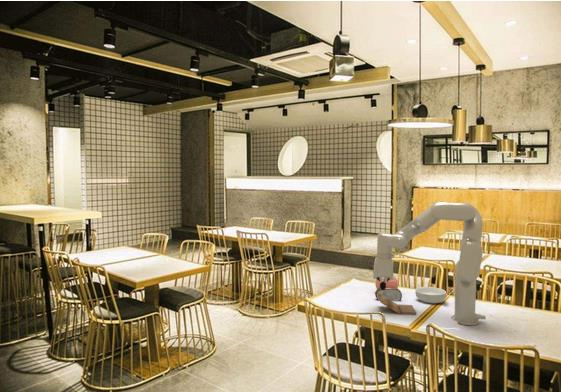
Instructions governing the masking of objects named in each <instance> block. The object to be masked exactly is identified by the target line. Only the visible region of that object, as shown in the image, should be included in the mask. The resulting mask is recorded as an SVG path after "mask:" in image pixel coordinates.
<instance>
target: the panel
mask: <svg viewBox="0 0 561 392" xmlns="http://www.w3.org/2000/svg"><path fill="white" fill-rule="evenodd" d="M378 297H379V299H380V300H379V301H380V304H382V305H383V306H386V307H387V308H389V309H391V310H392V311H394V312H395V313H397V314H398V315H401V314H400V313H401V310H400V308H399V306H398V304H397V303H396V302H395V301H391V300H389V299H388V298H386V297H384V296H383V295H381V294H379V295H378Z"/></svg>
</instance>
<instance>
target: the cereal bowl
mask: <svg viewBox="0 0 561 392" xmlns="http://www.w3.org/2000/svg"><path fill="white" fill-rule="evenodd" d="M414 291H415V297H416V298H417V299H418V300H419V301H420V302H423V303H427V304H439V303H443V302H444V301H445V299H446V297H447V291H446V290H444V289H442V288H440V287H439V288H438V287H434V286H420V287H417V288H415V290H414Z"/></svg>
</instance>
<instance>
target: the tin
mask: <svg viewBox="0 0 561 392" xmlns="http://www.w3.org/2000/svg"><path fill="white" fill-rule="evenodd" d="M379 294H381V295H383V296H384V297H386V298H388V299H389V300H391V301H393V302H401V300H402V298H403V294H402V292H401V290H400V289H399V287H398V288H388V287H386V289H385V291H384V290H381V288H378V289H377V288H376V291H375V292H374V295H375V298H376V299H377V301H380V299H379V297H378V295H379Z"/></svg>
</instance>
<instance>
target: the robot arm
mask: <svg viewBox="0 0 561 392" xmlns="http://www.w3.org/2000/svg"><path fill="white" fill-rule="evenodd" d="M442 220H443V221H457V222H463V231H462V237H461V242H460V244H459V251H460V253H459V260H458V261H457V262H456V264H455V268H454V275H455V278H454V279H455V282H454V283H455V284H454V286H455V287H454V315H451V316H450V318H451V320H452V321H454V322H456V323H458V324H459V325H463V326H477V325H478V324H479V320H486V318H487V317H486V315H482V314H480V313H476V304H477V303H476V301H477V300H476V298H477V278H479V274H480V270H481V264H482V259H483V253H484V252H483V246H482V245H481V244H482V243H481V241H482V235H483V227H484V223H483V218H482V215H481V214H480V212H479V210H478V209H477V208H476V207H475V206H474V205H472V204H471V203H469V202H466V201H465V202H459V203H458V202H455V203H454V202H444V201H440V200H439V201H436V202H434V203H432V204H431V205H430V206H428V208H426V209H425V210H423V211H422V212H421V213H420V214H418V215H417V216H416V217H414V218H413V219H412V220H411V221H409V222H408V224H406V225H405V226H403V227H402V228H401V229H400V230H398V231H397V232H396V233H395V234H391V232H390V233H389V232H378V234H377V240H376V241H377V243H376V245H377V247H376V257H375V258H374V264H373V271H372V272H373V275H372V278H373V279H375V280H376V279H377V280H378V281H379V282H380V288H381V290H384V291H385V289H386V283H387V282H388V281H389V280H393V279H394V278H393V275H394V262H393V261H394V260H393V258H394V257H395V254H393V253H392V250H393V249H399V250H400V249H404V248H405V247H406V246H407V244H408V242H410V241H411V240H412V239H414V238H415V237H416V236H418V235H420V234H422V233H425V232H427V231H428V230H430V229H431V228H432V227H433V226H435V225H436V224H437V223H439V221H442ZM392 248H393V249H392ZM382 277H384V281H382Z"/></svg>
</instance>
